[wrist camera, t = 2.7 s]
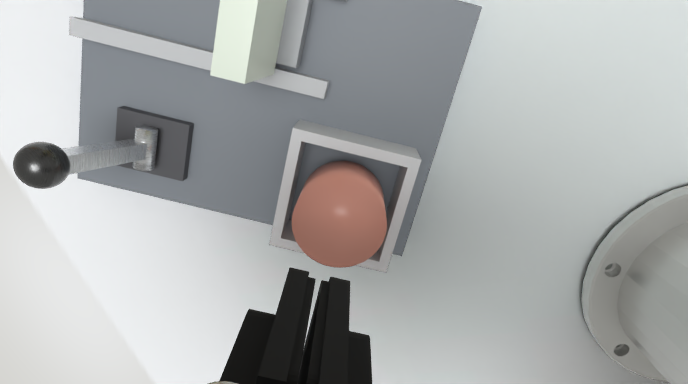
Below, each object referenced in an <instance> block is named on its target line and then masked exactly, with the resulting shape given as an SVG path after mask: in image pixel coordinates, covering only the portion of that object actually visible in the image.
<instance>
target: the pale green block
mask: <svg viewBox="0 0 688 384" xmlns="http://www.w3.org/2000/svg"><path fill="white" fill-rule="evenodd" d="M312 1H313V0H220V5H219V12H218V20H217V27H216V35H215V42H214V50H213V57H212V65H211V72H210V75H211V76H215V77H219V78H223V79H227V80H231V81H235V82H239V83H243V84H246V83H249V82H252V81H255V80H258V79H261V78H264V77H267V76H270V75H273V74H274V71H275V66H276V63H278V64H282V65H286V66H290V67H294V68H297V67H300V62H301V57H302V52H303V47H304V42H305V36H306V31H307V26H308V21H309V16H310V11H311V6H312Z"/></svg>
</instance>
